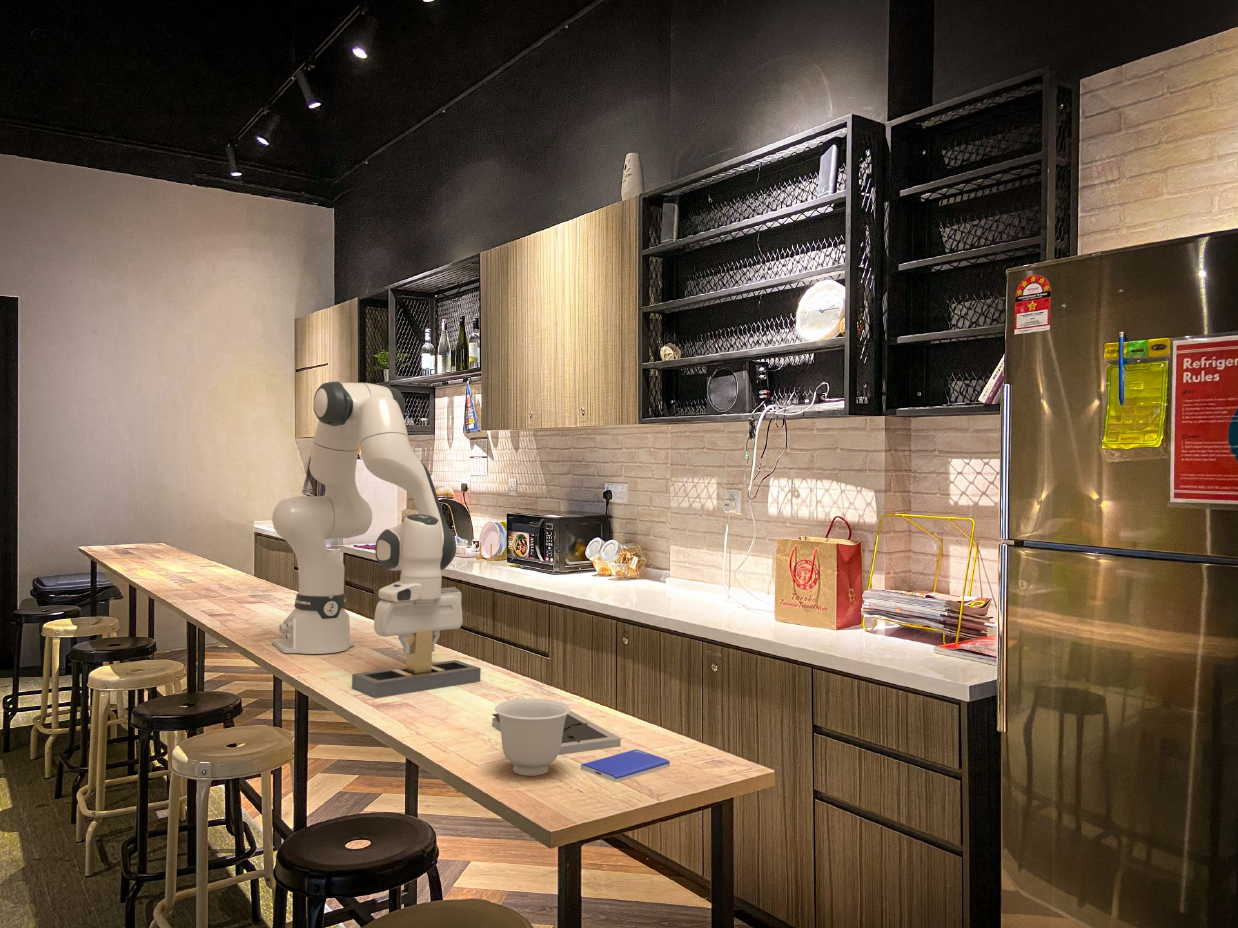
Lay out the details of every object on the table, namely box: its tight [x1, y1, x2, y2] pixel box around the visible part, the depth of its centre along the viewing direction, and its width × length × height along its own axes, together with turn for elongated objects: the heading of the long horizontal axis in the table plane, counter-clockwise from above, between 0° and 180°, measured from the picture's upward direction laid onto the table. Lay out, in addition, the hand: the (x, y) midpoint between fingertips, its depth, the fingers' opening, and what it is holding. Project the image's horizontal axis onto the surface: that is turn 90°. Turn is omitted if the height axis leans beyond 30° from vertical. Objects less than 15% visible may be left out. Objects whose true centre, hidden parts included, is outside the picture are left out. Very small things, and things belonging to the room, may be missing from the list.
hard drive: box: [580, 749, 671, 783], centre depth 152 cm, size 2×8×12 cm
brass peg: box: [405, 631, 433, 676], centre depth 203 cm, size 4×4×10 cm
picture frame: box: [491, 710, 622, 756], centre depth 169 cm, size 16×3×21 cm
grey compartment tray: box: [351, 659, 482, 699], centre depth 204 cm, size 10×26×3 cm, turn 132°
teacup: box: [494, 696, 571, 777], centre depth 150 cm, size 12×15×10 cm
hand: (418, 652), depth 204 cm, fingers closed on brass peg, 4 cm apart
